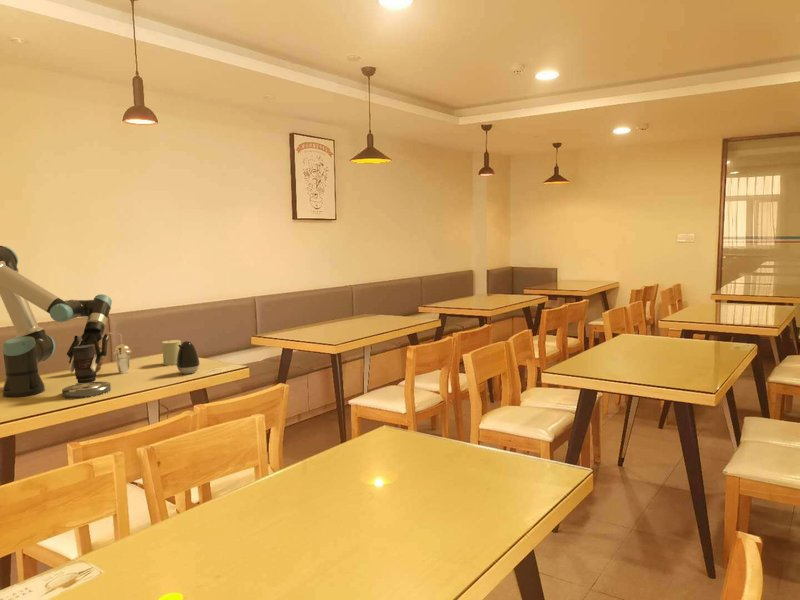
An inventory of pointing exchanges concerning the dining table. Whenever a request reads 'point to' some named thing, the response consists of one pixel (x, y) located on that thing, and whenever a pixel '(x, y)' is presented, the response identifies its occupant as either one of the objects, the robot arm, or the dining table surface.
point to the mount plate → (86, 389)
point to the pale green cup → (170, 351)
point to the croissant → (101, 357)
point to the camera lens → (84, 363)
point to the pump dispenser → (187, 358)
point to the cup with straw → (122, 356)
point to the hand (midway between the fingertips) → (81, 370)
